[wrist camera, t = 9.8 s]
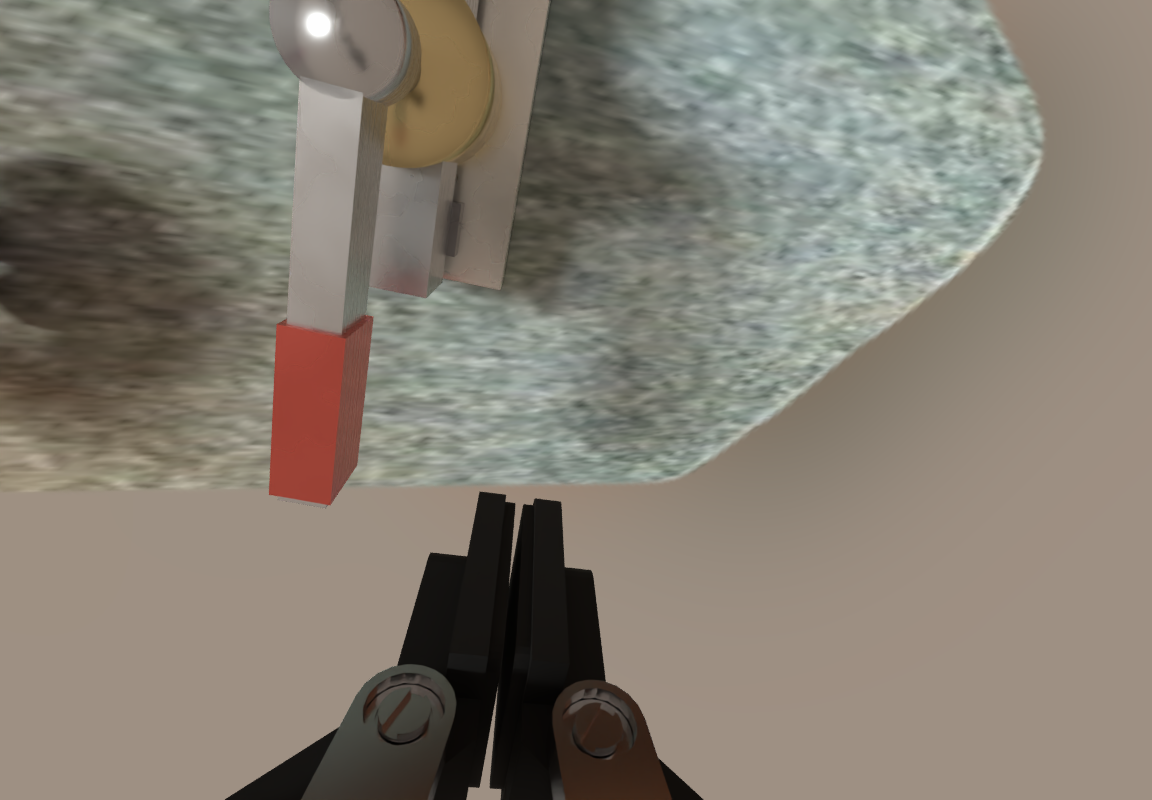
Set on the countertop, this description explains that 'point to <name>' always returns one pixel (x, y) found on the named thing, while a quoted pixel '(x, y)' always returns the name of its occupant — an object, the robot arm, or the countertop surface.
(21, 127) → the countertop surface
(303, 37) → the valve lever
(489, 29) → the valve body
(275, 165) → the countertop surface
